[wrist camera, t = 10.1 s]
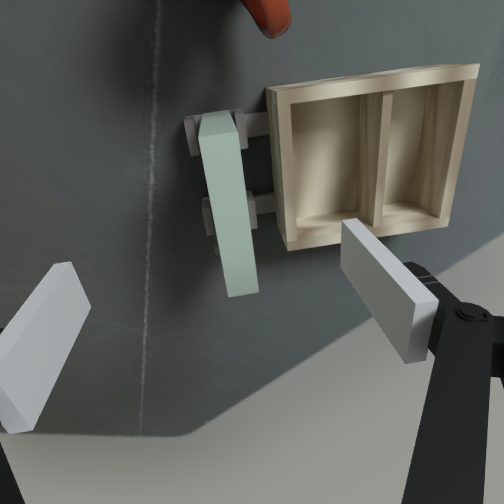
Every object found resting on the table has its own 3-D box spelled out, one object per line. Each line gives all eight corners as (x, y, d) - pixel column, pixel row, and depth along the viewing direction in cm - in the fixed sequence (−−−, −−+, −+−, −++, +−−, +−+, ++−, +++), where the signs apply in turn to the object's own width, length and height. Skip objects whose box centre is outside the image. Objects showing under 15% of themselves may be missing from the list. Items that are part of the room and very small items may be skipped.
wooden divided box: (209, 235, 37) (209, 263, 32) (182, 98, 30) (176, 104, 25) (415, 204, 38) (447, 226, 33) (434, 64, 31) (479, 63, 26)
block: (217, 231, 36) (220, 298, 26) (195, 114, 30) (188, 138, 20) (245, 227, 36) (258, 292, 26) (228, 109, 30) (237, 131, 20)
